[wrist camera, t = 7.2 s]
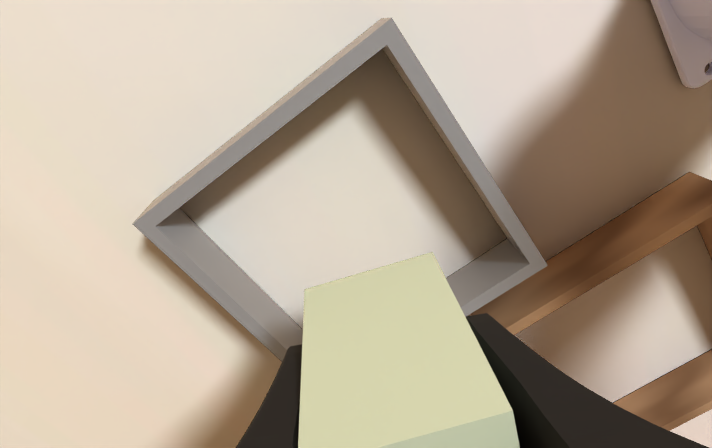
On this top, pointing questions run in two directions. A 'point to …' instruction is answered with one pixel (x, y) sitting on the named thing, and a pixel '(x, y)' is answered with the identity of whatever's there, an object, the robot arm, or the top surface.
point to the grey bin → (177, 229)
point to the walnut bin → (605, 259)
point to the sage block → (396, 366)
